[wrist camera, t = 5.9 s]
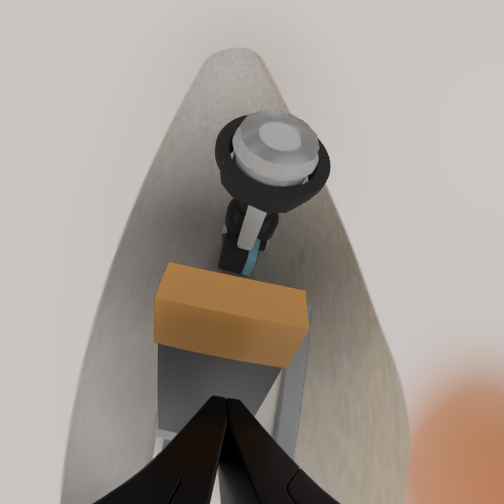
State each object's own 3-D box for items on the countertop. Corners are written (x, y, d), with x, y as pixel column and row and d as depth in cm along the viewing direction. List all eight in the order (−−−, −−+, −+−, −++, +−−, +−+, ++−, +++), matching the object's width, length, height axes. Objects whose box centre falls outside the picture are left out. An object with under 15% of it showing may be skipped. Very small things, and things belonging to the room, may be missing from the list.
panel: (251, 595, 11) (261, 619, 8) (140, 581, 10) (134, 606, 8) (297, 319, 20) (315, 304, 17) (187, 297, 20) (187, 278, 17)
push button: (219, 188, 24) (240, 75, 15) (288, 207, 24) (338, 104, 15) (194, 268, 21) (202, 162, 12) (274, 289, 21) (336, 200, 12)
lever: (236, 456, 13) (313, 332, 8) (154, 440, 13) (149, 298, 7) (238, 428, 15) (308, 288, 9) (160, 413, 14) (166, 258, 9)
